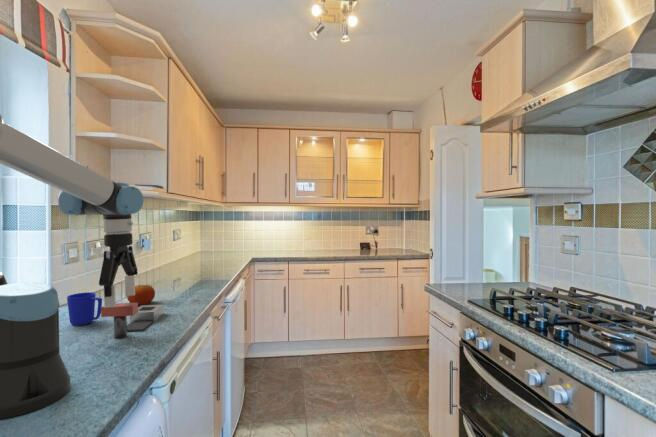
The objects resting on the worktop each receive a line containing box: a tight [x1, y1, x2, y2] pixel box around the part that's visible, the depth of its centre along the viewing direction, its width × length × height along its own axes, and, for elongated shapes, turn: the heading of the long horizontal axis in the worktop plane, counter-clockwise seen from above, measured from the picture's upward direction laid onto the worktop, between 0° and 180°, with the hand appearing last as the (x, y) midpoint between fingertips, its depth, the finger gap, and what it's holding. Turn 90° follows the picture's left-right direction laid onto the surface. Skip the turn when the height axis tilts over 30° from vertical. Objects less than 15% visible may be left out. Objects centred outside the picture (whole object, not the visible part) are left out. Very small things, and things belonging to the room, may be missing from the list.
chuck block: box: [129, 304, 165, 324], centre depth 127 cm, size 10×8×4 cm
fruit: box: [126, 284, 156, 306], centre depth 147 cm, size 11×10×8 cm
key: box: [100, 302, 139, 340], centre depth 108 cm, size 4×9×10 cm, turn 97°
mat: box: [127, 321, 154, 333], centre depth 118 cm, size 9×7×1 cm
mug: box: [66, 292, 103, 326], centre depth 122 cm, size 8×12×10 cm
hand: (120, 300), depth 109 cm, fingers open, 13 cm apart
